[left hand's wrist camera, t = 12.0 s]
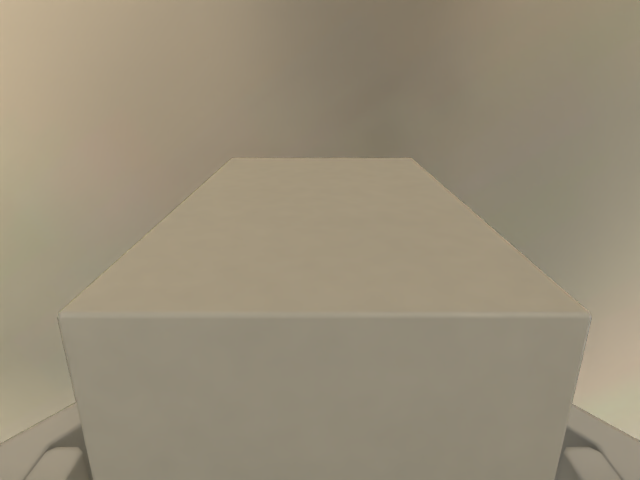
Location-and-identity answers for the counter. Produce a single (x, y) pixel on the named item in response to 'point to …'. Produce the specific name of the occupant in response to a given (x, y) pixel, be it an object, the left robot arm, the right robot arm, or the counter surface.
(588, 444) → the left robot arm
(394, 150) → the counter surface
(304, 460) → the bar
